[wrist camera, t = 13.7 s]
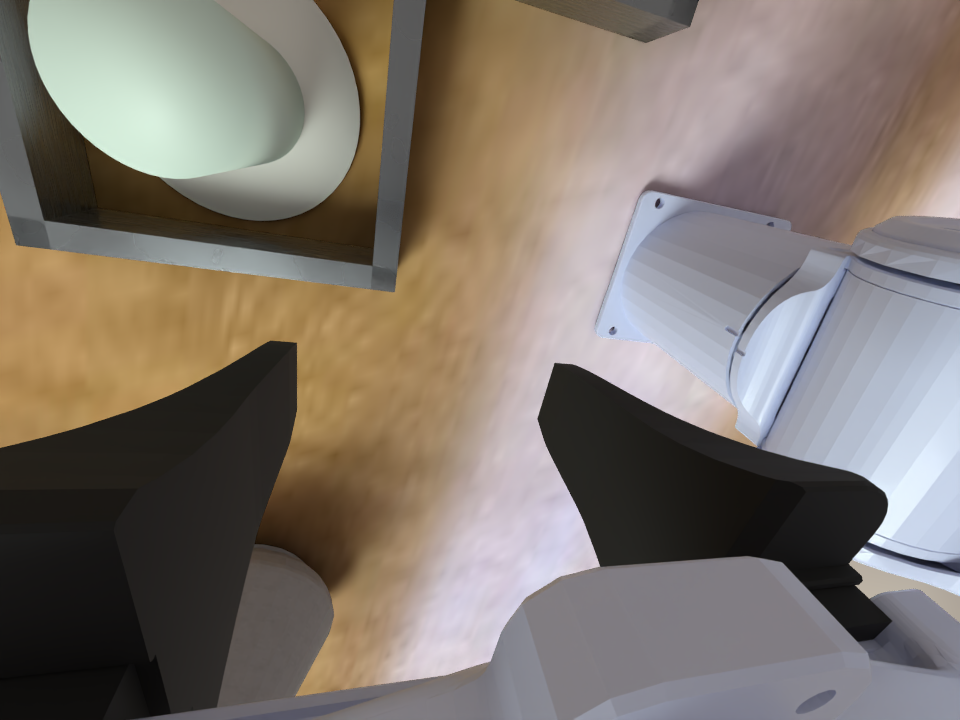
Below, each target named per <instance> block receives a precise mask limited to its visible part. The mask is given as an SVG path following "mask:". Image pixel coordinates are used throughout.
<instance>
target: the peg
mask: <svg viewBox="0 0 960 720" xmlns="http://www.w3.org/2000/svg"><path fill="white" fill-rule="evenodd" d="M28 36H29V42H30V47H31V52H32V55H33V58H34V61H35V65H36V67H37V70H38V72H39V74H40V77H41V79H42V81H43V83H44V85H45V87H46V89H47V90H48V92H49V94H50V96H51V97H52V99H53V100H54V102H55V103H56V105H57V106H58V108H59V109H60V111H61V112H62V113H63V114H64V115H65V117H66V118H67V119H68V120H69V121H70V123H71V124H72V125H73V126H74V127H75V128H76V129H77V130H78V131H79V132H80V133H81V134H82V135H83V136H84V137H85V138H86V139H88V140H89V141H90V142H91V143H92V144H94V145H95V146H96V147H97V148H99V149H100V150H102V151H103V152H104V153H106V154H107V155H109V156H110V157H112V158H114V159H115V160H117V161H119V162H121V163H122V164H124V165H127V166H129V167H131V168H133V169H135V170H138V171H141V172H144V173H147V174H150V175H154V176H159V177H163V178H172V179H190V178H196V177H202V176H207V175H212V174H217V173H222V172H227V171H231V170H236V169H241V168H246V167H251V166H256V165H261V164H266V163H270V162H273V161H276V160H278V159H280V158H282V157H283V156H285V155H286V154H288V153H289V152H290V151H291V150H292V149H293V147H294V146H295V144H296V143H297V141H298V139H299V137H300V135H301V132H302V129H303V124H304V115H305V111H304V101H303V96H302V92H301V89H300V86H299V83H298V81H297V78H296V76H295V75H294V73H293V71H292V69H291V68H290V66H289V65H288V63H287V62H286V60H285V59H284V58H283V57H282V56H281V54H280V53H279V52H278V51H277V50H276V49H275V48H274V47H273V46H272V45H270V44H269V43H268V42H267V41H265V40H264V39H263V38H261V37H260V36H259V35H258V34H256V33H255V32H254V31H253V30H251V29H250V28H249V27H247V26H246V25H245V24H244V23H242V22H241V21H240V20H239V19H237V18H236V17H235V16H233V15H232V14H231V13H230V12H228V11H227V10H226V9H225V8H223V7H222V6H221V5H219V4H218V3H217V2H216V1H214V0H30V2H29V9H28Z"/></svg>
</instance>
